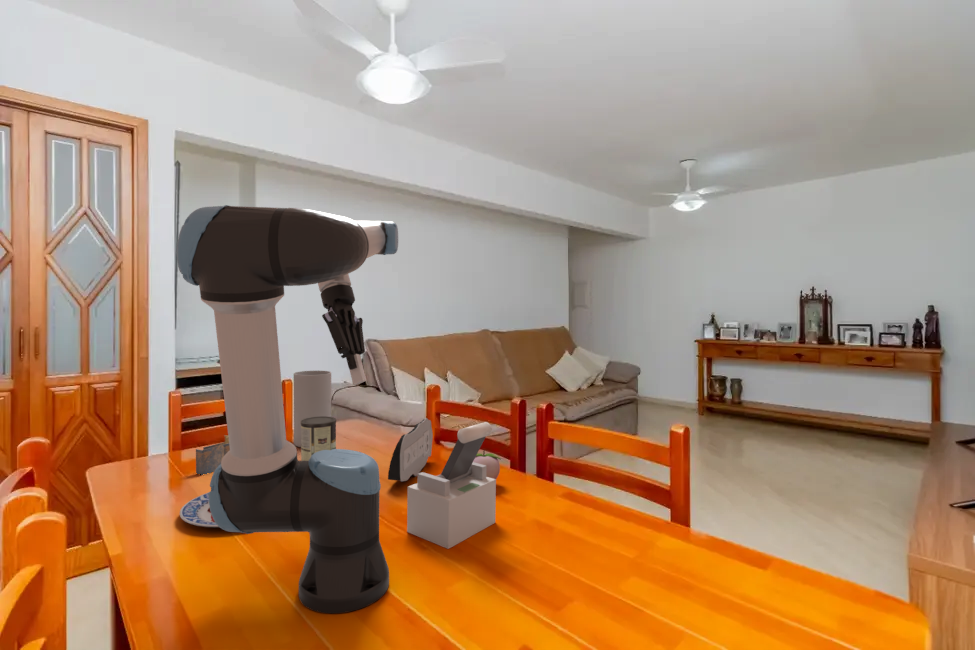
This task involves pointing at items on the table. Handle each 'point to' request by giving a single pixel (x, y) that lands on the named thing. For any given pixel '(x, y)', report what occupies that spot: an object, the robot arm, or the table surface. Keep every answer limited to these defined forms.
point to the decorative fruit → (489, 463)
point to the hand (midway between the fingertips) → (359, 382)
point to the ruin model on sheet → (211, 457)
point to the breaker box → (451, 506)
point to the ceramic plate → (198, 512)
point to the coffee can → (317, 435)
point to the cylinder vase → (310, 398)
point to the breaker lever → (465, 451)
